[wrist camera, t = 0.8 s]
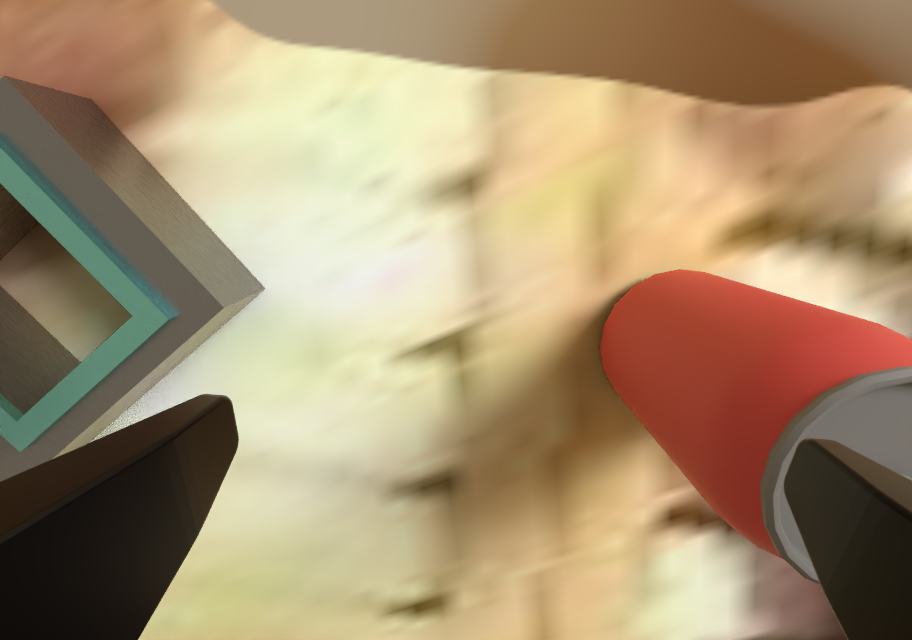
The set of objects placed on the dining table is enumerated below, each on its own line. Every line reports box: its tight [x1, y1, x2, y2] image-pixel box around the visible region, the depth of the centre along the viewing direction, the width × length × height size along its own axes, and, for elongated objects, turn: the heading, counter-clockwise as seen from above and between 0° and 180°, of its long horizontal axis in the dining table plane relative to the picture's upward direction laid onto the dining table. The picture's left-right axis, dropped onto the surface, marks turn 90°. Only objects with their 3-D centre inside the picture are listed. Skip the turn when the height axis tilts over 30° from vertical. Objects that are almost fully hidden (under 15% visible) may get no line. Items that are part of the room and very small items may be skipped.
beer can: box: [600, 269, 912, 585], centre depth 17 cm, size 7×7×12 cm
